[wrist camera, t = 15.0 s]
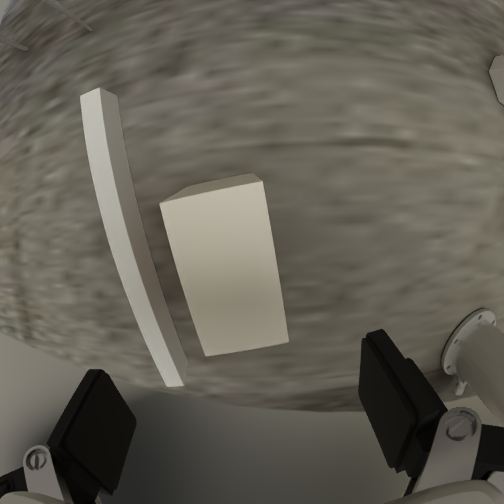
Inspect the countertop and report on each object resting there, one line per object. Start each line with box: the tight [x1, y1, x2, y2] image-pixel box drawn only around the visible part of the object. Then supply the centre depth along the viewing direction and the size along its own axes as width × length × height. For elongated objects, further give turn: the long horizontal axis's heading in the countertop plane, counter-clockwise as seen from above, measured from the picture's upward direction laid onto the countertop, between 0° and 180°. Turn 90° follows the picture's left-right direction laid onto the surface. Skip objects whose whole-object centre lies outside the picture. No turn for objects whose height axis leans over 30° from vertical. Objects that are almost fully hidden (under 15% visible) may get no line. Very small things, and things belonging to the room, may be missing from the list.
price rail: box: [80, 88, 188, 387], centre depth 24 cm, size 30×2×4 cm, turn 10°
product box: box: [159, 173, 289, 356], centre depth 22 cm, size 6×11×10 cm, turn 10°
